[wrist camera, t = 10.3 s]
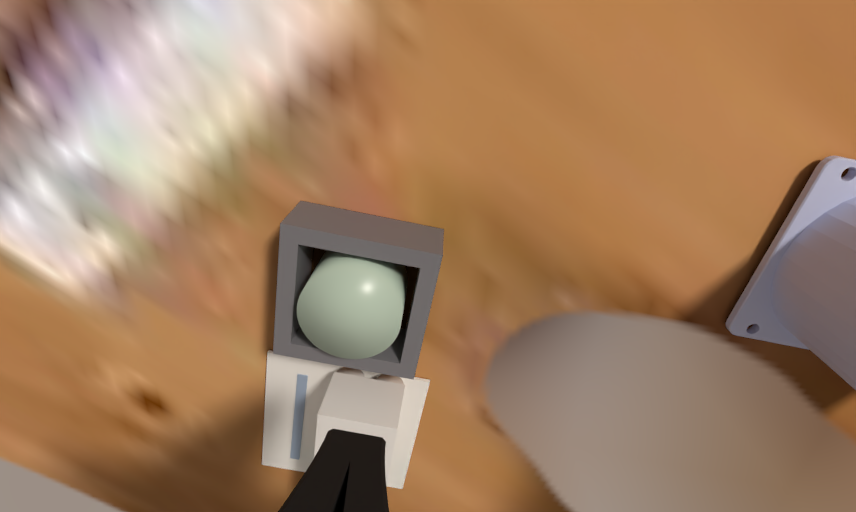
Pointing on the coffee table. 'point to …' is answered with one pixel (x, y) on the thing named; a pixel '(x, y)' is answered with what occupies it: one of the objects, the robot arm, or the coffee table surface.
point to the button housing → (361, 239)
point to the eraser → (362, 408)
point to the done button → (353, 305)
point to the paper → (299, 405)
